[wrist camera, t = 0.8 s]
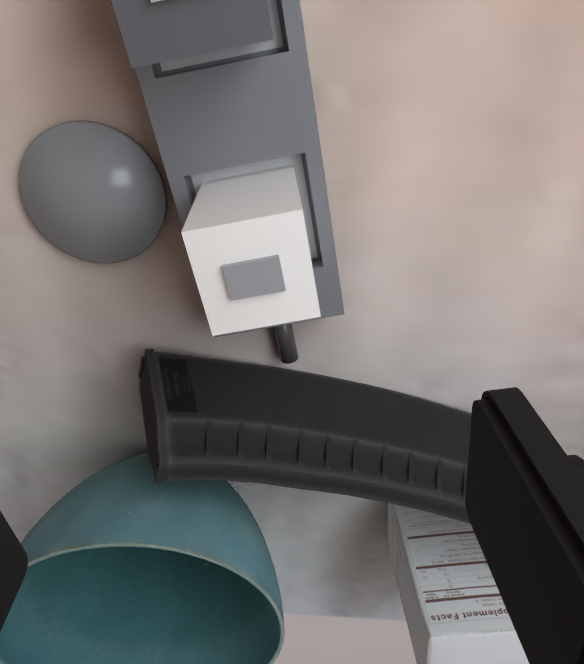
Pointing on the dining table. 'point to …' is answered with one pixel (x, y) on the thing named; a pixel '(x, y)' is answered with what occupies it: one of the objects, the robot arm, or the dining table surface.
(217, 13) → the block
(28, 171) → the slate coaster
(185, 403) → the magazine
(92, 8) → the dining table surface
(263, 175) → the block
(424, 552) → the supplement box
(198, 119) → the power strip
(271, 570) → the teal bowl
